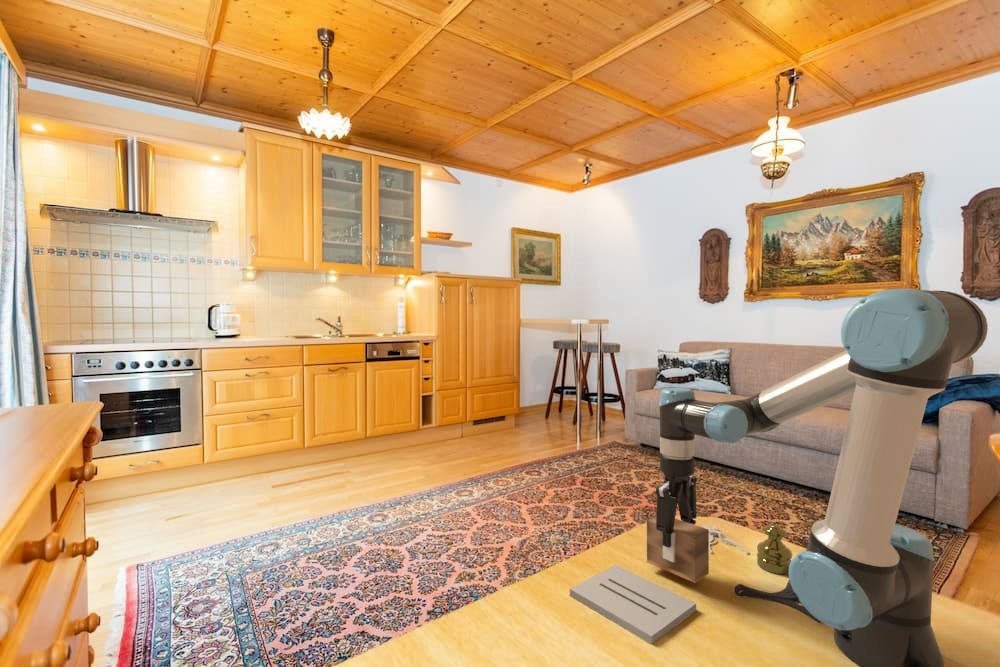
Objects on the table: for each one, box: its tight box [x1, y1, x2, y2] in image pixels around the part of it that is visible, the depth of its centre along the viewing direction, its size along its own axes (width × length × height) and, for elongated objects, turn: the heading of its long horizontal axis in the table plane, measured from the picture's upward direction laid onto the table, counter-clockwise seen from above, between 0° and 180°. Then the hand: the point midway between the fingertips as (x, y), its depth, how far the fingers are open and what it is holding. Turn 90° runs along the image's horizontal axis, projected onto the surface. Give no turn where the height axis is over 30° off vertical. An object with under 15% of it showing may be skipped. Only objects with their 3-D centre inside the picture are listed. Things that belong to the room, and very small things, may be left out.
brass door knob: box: [756, 524, 793, 575], centre depth 116 cm, size 7×7×10 cm
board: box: [569, 564, 697, 645], centre depth 101 cm, size 20×16×2 cm
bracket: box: [733, 579, 820, 623], centre depth 103 cm, size 14×15×3 cm
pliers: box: [701, 523, 750, 556], centre depth 130 cm, size 10×2×15 cm
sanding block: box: [646, 515, 710, 584], centre depth 111 cm, size 12×6×10 cm, turn 40°
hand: (677, 554), depth 111 cm, fingers closed on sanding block, 6 cm apart
